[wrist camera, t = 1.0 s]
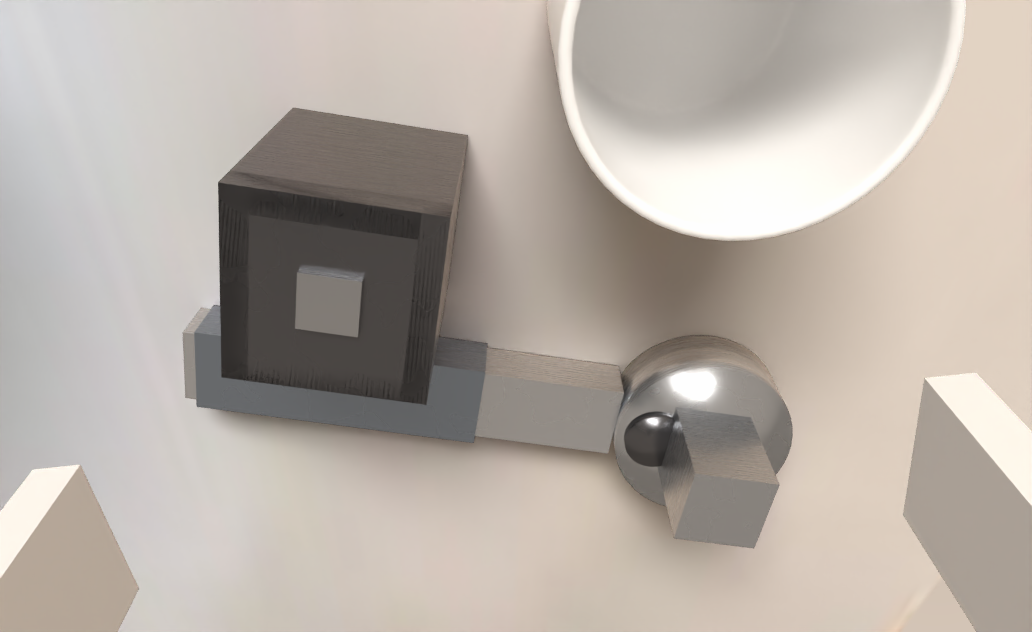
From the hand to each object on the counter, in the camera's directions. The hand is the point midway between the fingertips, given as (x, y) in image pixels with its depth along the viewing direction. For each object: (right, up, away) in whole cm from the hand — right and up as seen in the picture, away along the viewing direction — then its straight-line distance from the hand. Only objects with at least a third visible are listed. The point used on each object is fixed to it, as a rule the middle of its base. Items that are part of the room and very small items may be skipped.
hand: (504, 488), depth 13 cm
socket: (-5, +7, +17) cm, 19 cm away
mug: (+7, +15, +13) cm, 21 cm away
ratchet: (-1, 0, +21) cm, 21 cm away
